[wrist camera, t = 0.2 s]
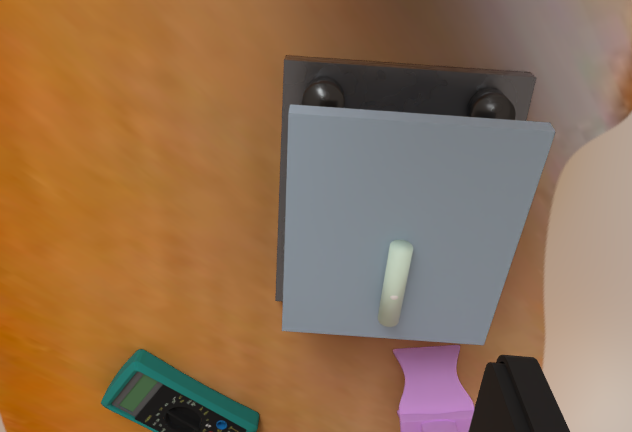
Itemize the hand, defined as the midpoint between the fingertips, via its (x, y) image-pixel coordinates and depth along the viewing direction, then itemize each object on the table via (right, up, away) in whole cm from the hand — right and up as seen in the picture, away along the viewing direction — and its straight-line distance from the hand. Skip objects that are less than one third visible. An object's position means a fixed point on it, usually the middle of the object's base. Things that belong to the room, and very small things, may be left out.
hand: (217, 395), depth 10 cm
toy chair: (+13, -13, +47) cm, 50 cm away
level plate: (+8, +2, +31) cm, 32 cm away
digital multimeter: (-12, -16, +50) cm, 53 cm away
